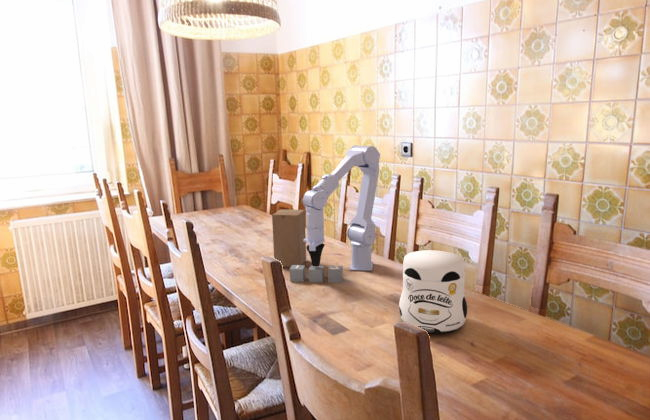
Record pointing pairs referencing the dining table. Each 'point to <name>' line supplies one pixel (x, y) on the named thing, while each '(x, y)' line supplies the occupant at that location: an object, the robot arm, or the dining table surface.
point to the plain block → (316, 273)
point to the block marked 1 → (297, 273)
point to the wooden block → (289, 237)
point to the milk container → (433, 291)
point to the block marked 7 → (335, 274)
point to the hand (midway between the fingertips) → (316, 265)
